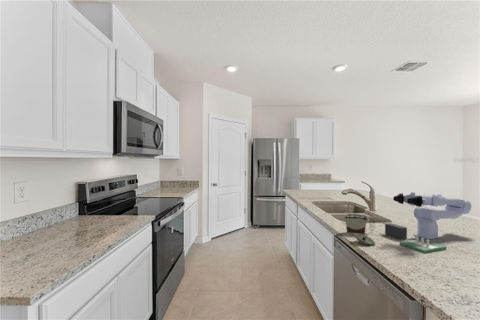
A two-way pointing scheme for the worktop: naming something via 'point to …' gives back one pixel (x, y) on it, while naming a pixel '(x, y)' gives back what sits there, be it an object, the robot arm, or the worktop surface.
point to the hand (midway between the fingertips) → (400, 199)
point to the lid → (364, 239)
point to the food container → (355, 223)
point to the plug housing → (395, 231)
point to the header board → (422, 245)
